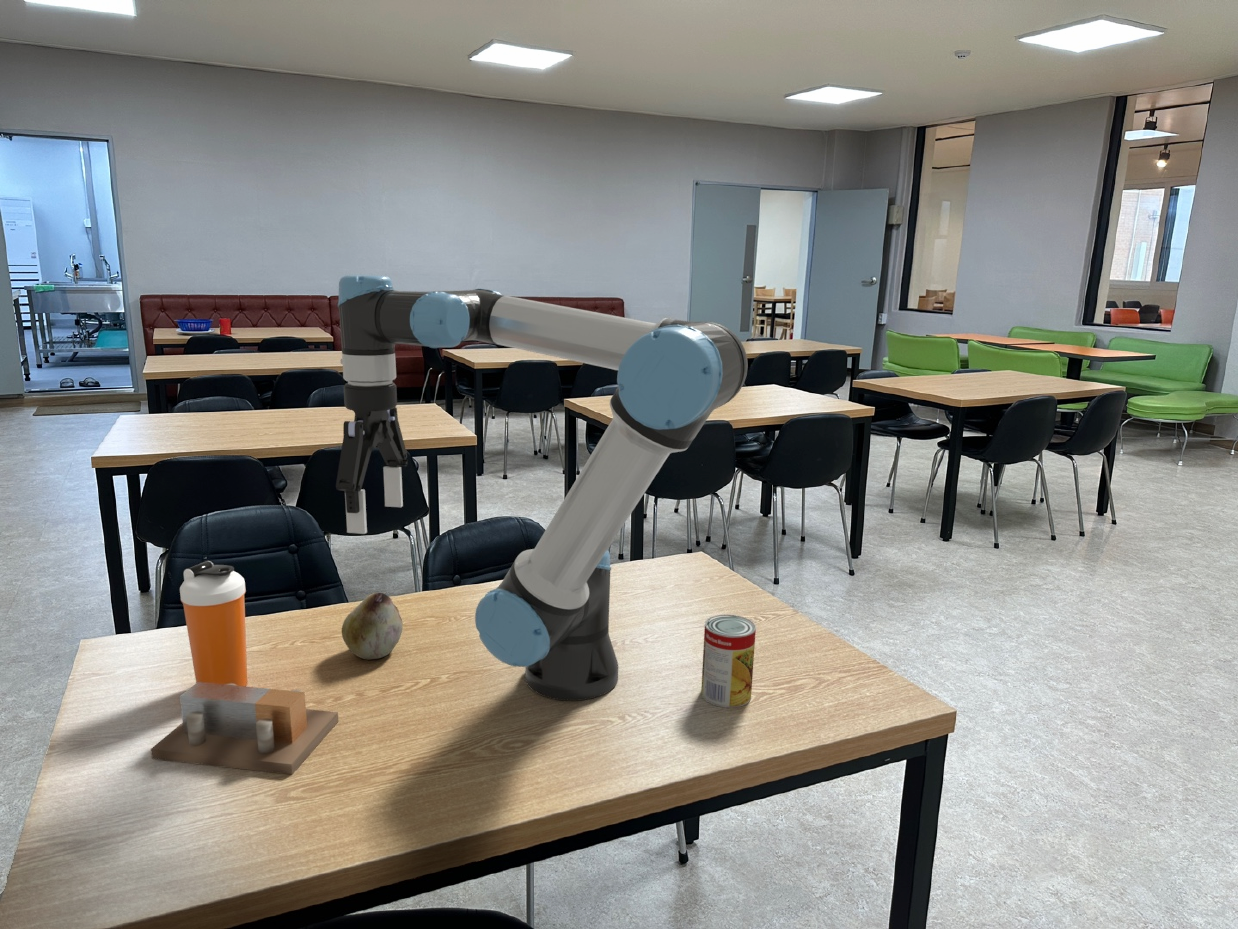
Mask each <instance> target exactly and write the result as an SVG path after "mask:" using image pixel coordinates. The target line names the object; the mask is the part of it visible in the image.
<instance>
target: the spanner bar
mask: <svg viewBox="0 0 1238 929" xmlns="http://www.w3.org/2000/svg"><path fill="white" fill-rule="evenodd" d="M305 694H306V693H305V691H302V692H297V691H292V690H287V689H286V690H284V689H274V688H264V687H254V686H235V685H225V684H215V683H204V682H197V683H196V682H195V684H193V685H192V686H191V687H190V688H188V689H187V690H185V692H183V693H182V694H181V695H179V702H180V709H181V710H180V712H181V718H182V723H183V729H184V732H188V727H187V718H186V716H187V715H188V714H190V713H192V712H197V711H199V712H202V713H203V718H204V728H205V734H207V735H217V736H226V737H236V738H245V739H255V740H257V729H256V723H257V722H258V721H259V720H261V719H266V718H268V719H271V720H272V723H273V734H274V742H283V743H292V744H293V742H294V741H295V740H296V739H297V738H298V737H299V736H300V735H301V734H302V733H303V732H304V731H305V729H306V728H307V718H306V709H307V708H306V706H307V705H306V695H305Z"/></svg>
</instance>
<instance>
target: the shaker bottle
mask: <svg viewBox="0 0 1238 929" xmlns="http://www.w3.org/2000/svg"><path fill="white" fill-rule="evenodd" d="M183 580H184V581H183V582H182V584H181V585H180V587H179V593H180V594H179V595H180V602H181V603H182V604H183V605H182V606H183V610H184V618H185V622H186V623H185V624H186V628H187V636H188V640H189V647H190V653H191V654H190V655H191V660H192V664H193V672H194V677H195V684H196V683H197V682H204V683H215V684H225V685H226V684H230V683H234V684H236V685H237V686H246V687H248V686H247V685H248V663H247V660H248V658H247V638H246V637H247V635H246V634H247V633H246V632H247V631H246V608H245V607H246V606H245V594H246V592H247V590H246V582H245V580H246V579H245V578H244V577H243V576H242V575H241V574H240V573H239V572H236V571H235V567H234V566H233V565H226V564H225V565H224V564H214V563H213V562H212V561H210V560H205V561H203V562H200V563H199V564H195V565H194V566H191V567H188V568H186V569H184V570H183Z"/></svg>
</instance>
